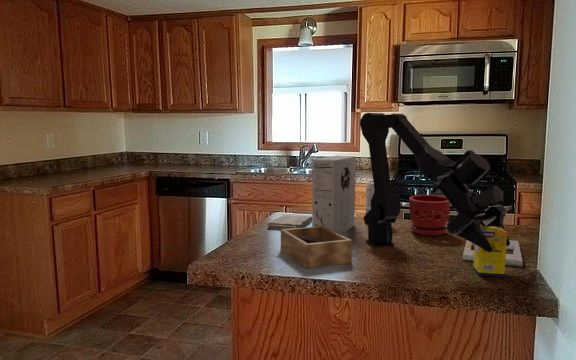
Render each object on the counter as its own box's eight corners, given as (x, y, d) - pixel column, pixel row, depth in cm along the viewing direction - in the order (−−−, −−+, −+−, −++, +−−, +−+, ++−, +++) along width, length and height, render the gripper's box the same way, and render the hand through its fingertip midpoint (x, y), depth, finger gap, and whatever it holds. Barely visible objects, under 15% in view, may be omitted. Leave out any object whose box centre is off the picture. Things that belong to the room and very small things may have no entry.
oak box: (305, 268, 111) (306, 244, 110) (280, 250, 128) (280, 229, 127) (351, 262, 116) (352, 240, 115) (321, 245, 132) (321, 226, 132)
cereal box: (334, 223, 163) (335, 155, 160) (354, 225, 160) (356, 156, 157) (311, 236, 144) (312, 159, 141) (333, 239, 141) (334, 160, 138)
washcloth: (265, 230, 155) (265, 221, 154) (283, 220, 171) (283, 212, 171) (298, 233, 151) (298, 224, 150) (312, 222, 168) (312, 214, 167)
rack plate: (522, 266, 112) (522, 260, 112) (462, 259, 118) (463, 254, 118) (517, 245, 132) (518, 240, 132) (467, 240, 138) (467, 235, 138)
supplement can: (372, 220, 169) (372, 181, 168) (392, 223, 164) (393, 182, 162) (361, 223, 163) (362, 183, 161) (381, 226, 158) (382, 184, 156)
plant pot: (401, 229, 154) (402, 195, 153) (436, 227, 157) (437, 194, 155) (419, 238, 141) (420, 201, 140) (457, 236, 144) (458, 199, 143)
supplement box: (505, 277, 104) (507, 231, 103) (477, 276, 105) (480, 230, 104) (498, 269, 110) (501, 226, 109) (472, 268, 111) (474, 225, 110)
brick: (296, 253, 125) (296, 237, 124) (303, 250, 128) (303, 234, 127) (329, 260, 119) (329, 243, 118) (336, 256, 122) (336, 240, 121)
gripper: (460, 178, 102) (505, 234, 94) (501, 173, 113) (545, 223, 106) (429, 207, 109) (469, 262, 101) (471, 200, 120) (509, 248, 113)
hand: (500, 248), depth 105 cm, fingers closed on supplement box, 8 cm apart
